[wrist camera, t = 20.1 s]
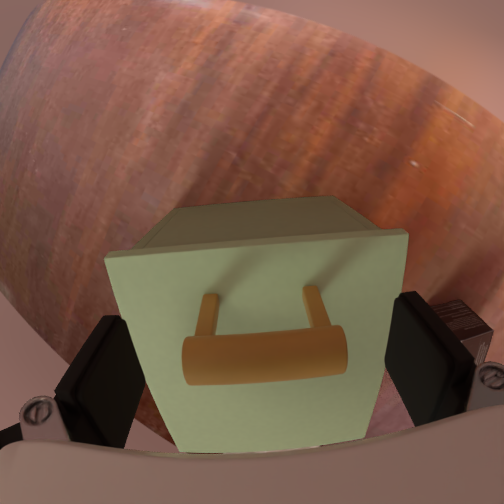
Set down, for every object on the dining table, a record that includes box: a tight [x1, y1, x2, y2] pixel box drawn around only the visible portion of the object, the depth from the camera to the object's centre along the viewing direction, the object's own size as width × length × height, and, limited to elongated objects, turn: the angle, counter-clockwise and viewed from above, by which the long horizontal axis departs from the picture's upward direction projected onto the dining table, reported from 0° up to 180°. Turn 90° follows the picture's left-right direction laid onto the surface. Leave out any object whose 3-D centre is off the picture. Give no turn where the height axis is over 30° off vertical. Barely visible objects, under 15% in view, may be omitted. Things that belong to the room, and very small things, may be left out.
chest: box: [130, 196, 382, 250], centre depth 24 cm, size 16×14×12 cm
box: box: [431, 300, 494, 366], centre depth 29 cm, size 6×6×7 cm
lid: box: [104, 228, 409, 453], centre depth 15 cm, size 16×14×6 cm
